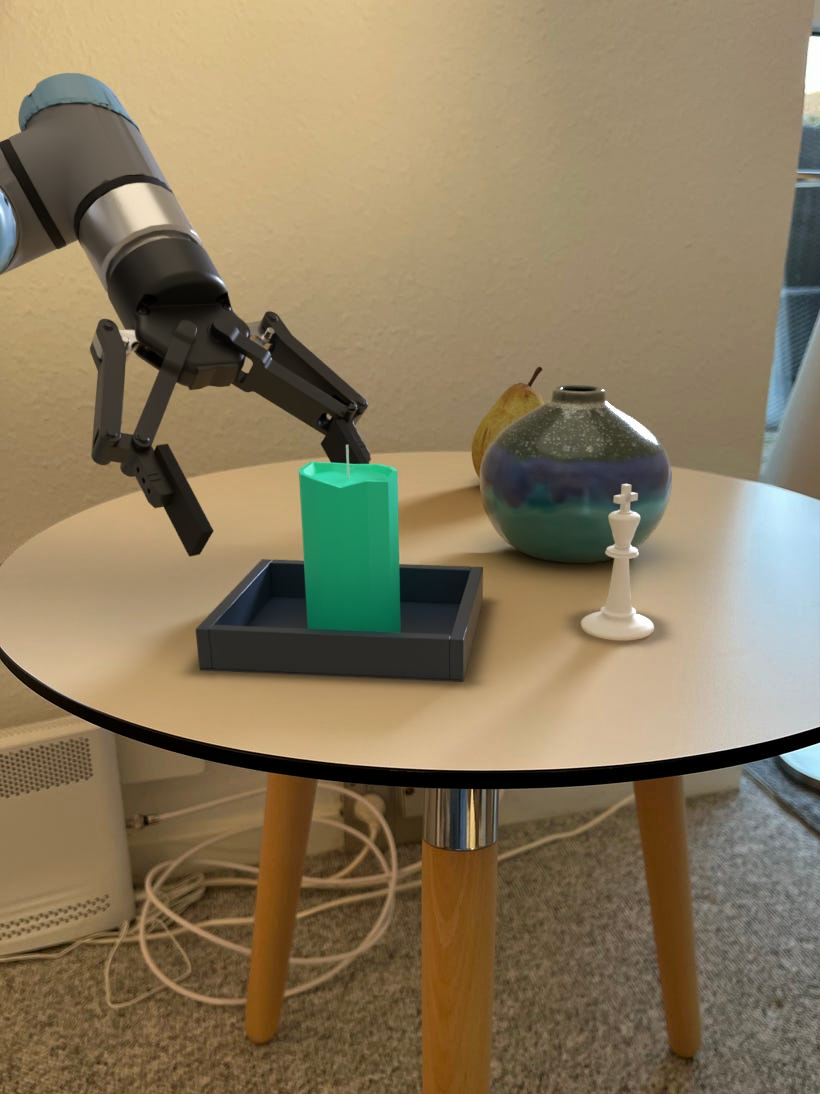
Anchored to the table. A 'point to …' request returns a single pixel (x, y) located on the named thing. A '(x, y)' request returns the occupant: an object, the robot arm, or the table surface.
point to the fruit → (504, 416)
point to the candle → (351, 546)
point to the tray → (291, 648)
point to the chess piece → (620, 580)
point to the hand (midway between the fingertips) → (294, 524)
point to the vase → (572, 477)
